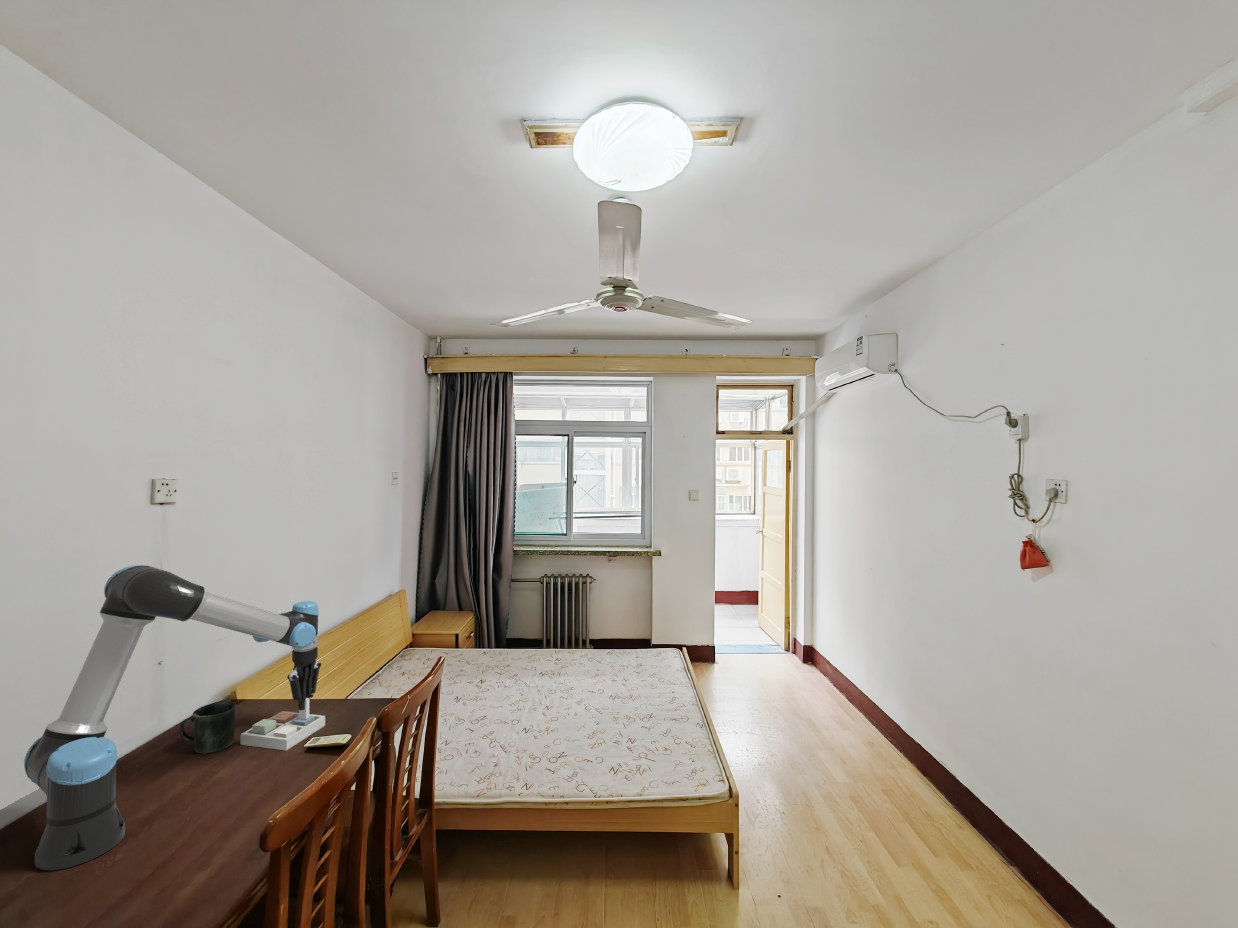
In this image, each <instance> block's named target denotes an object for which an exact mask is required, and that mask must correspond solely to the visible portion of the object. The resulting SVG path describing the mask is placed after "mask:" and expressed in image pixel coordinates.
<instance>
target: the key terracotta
mask: <svg viewBox="0 0 1238 928" xmlns="http://www.w3.org/2000/svg"><path fill="white" fill-rule="evenodd" d="M294 718H295V714H290V713H282V714H280V715H278V716H276V717H274V718H273V719H272V720H276V723H281V724H285V723H287V722H288V721H290V720H292V719H294Z"/></svg>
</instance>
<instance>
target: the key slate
mask: <svg viewBox="0 0 1238 928" xmlns="http://www.w3.org/2000/svg"><path fill="white" fill-rule="evenodd" d="M313 721H315V716H309V718H307V719H299V718H297V719H296V720H294V721H293V725H298V726H307V725H308V724H310V723H312V722H313Z"/></svg>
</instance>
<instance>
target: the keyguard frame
mask: <svg viewBox="0 0 1238 928" xmlns="http://www.w3.org/2000/svg"><path fill="white" fill-rule="evenodd" d="M282 713H290V714H295V718H294V719H292V720H290V721H288V722H287V723H285V724H281V723H276V728H275V729H273V730H271V731H270V732H268V733H266V734H257V733H252V727H251V728H249V729H248V730H246V731H244V732H242V733H240V746H247V747H253V748H255V747H256V748H263V749H268V750H269V749H270V750H279V751H284V752H285V751H289V750H290V749H291V748H293V747H295V746H296V745H298V744H300V743H301V742H302V741H304V740H305V739H307V738H309V737H310V736H312V735H313V734H314V733H316V732H317V731H320V729H323V728H325V726H326V715H320V714H313V713H312V714H311V713H309V716H315V721H313V722H312V723H310V724H308V725H307V726H298V725H293V721H294V720H296V719H297V718H299V712H296V711H295V712H294V711H285V710H282V711H280V712H278V713H277V714H274V715H273V716H271V717H269V718H268V719H270V720H272V719H273V718H274V717H276V716H278V715H280V714H282ZM284 726H291V727H297V732H295V733H294V734H292V735H291V736H289V737H287V738H282V737H274V732H275V731H277V730H279V729H280V728H282V727H284Z"/></svg>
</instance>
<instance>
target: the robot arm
mask: <svg viewBox="0 0 1238 928" xmlns="http://www.w3.org/2000/svg"><path fill="white" fill-rule="evenodd" d="M103 593H104V598H105V600H104V603H103V604H102V606H101V609H100V611H99V615H100V616H101V618H102V620H103V621H102V623H101V626H100V628H99V630H98V632H97V634H96V637H95V639H94V641H93V643H92V646H91V648H90V650H89V652H88V655H87V656H86V658H85V661H84V663H83V665H82V666H81V669H80V672H79V674H78V675H77V678H76V680H75V682H74V684H73V687H72V688H71V689H72V690H71V691H70V693H69V695H68V698H67V700H66V702H65V704H64V706H63V709H62V710H61V713H60V715H59V717H58V718H57V719H55V720H54V721H52V722H51V723H49V724H47V726H46V727H45V729H44V731H43V734H42V736H40V738H39V737H38V739H36V740H35V741H34V742H33V743H32V744H31V746H30V747H29V748H28V750H27V752H26V753H25V756H24V760H23V768H24V771H25V774H26V777H27V778H28V779H29V780H30V781H31V782H32V783H34V784H35V785H37V787H38V788H39V789H40V790H41V791H42V792H43V793H44V794H45V795H46V825H45V828H44V830H43V833H42V835H41V838H40V840H39V843H38V846H37V848H36V850H35V852H34V865H35V867H36V868H37V869H38V870H42V871H57V870H64V869H69V868H72V867H76V866H78V865H81V864H84V863H87V862H90V861H92V860H94V859H96V858H99V857H100V856H103V854H105V853H107V852H109V851H110V850H112V849H113V848H115V847H116V846H118V844H119V843H120V842H122V840H123V838H124V837H125V832H126V824H125V820H124V818H123V817H122V814H121V812H120V810H119V808H118V806H117V803H116V802H117V801H116V800H117V799H116V797H117V796H116V795H117V794H116V793H117V791H116V790H117V761H118V751H117V746H116V743H115V742H114V741H113V740H112V739H110V738H108V737H105V735H106V734H107V730H108V726H107V725H106V724H105V722H104V719H105V718H106V715H107V713H108V710H109V708H110V706H111V704H112V701H113V700H114V697H115V695H116V692H117V690H118V687H119V685H120V683H121V681H122V678H123V676H124V675H125V673H126V669H127V668H128V664H129V662H130V660H131V658H132V655H133V653H134V651H135V649H136V646H137V644H138V642H139V640H140V637H141V635H142V633H143V630H144V628H145V626H147V625H149V624H151V623H153V622H154V621H155V620H156V618H157V617H158V618H159V617H160V618H166V619H173V620H175V621H176V620H177V621H180V622H188V620H193V621H197V622H200V623H203V624H208V625H210V626H211V625H212V626H215V627H218V628H222V629H227V630H231V631H234V632H239V633H242V634H245V635H248V636H252V639H253V640H254V641H255V642H256V643H263V642H265V643H266V642H269V641H272V642H275V643H278V644H281V645H286V646H289V647H291V649H292V651H291V661H292V662H293V671H292V673H291V674H287V677H286V678H287V679H288V681H289V685H290V686H289V687H290V690H291V696H292V701H297V702H298V705H297V706H298V708H297V709H298V713H299V719H307V718H309V714H310V706H311V698H313V697H314V694H315V693H316V689H317V684H318V680H319V672H320V668H321V667H322V663H321V662H317V659H318V656H319V655H318V653H319V652H318V651H319V650H318V649H319V648H318V646H319V645H318V643H319V641H318V634H319V615H320V613H319V605H318V603H317V602H316V601H313V600H312V601H311V600H304V601H299V602H295V603H294V604H293V605H292V610H290V611H287V612H283V613H282V612H281V613H276V612H272V611H270V610H266V609H263V608H261V607H256V606H253V605H250V604H246V603H243V602H241V601H238V600H235V599H231V598H227V597H224V596H221V595H218V594H215V593H211V592H209V591H207V590H206V588H205V587H204V586H202V585H199V584H196V583H194V582H191V581H189V580H187V579H184V578H183V577H181V576H178V575H177V574H174V573H173V572H170V571H167V570H164V569H160V568H158V567H154V566H152V565H151V566H150V565H143V564H138V565H137V564H136V565H128V566H126V567H123V568H121V569H119V570H117V571H116V572H114V573H113V574H112V575H110V577H109V578H108V579H107V581H106V583H105V585H104V589H103Z"/></svg>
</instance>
